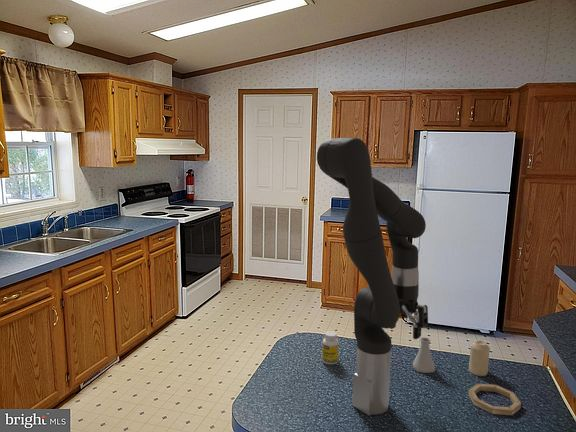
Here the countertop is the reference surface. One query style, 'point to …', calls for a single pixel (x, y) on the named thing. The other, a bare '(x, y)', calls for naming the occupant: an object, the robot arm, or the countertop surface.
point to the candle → (479, 358)
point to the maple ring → (490, 408)
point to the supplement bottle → (330, 348)
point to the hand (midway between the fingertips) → (404, 333)
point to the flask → (424, 358)
